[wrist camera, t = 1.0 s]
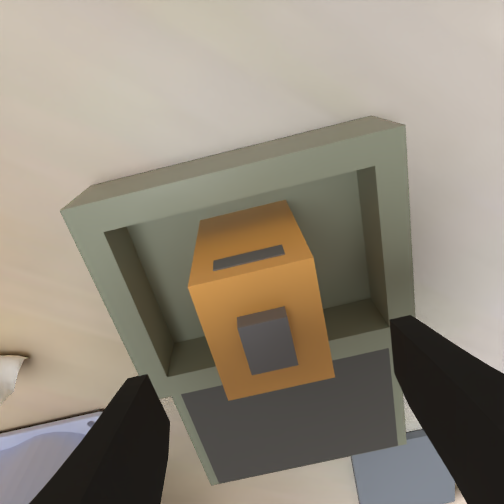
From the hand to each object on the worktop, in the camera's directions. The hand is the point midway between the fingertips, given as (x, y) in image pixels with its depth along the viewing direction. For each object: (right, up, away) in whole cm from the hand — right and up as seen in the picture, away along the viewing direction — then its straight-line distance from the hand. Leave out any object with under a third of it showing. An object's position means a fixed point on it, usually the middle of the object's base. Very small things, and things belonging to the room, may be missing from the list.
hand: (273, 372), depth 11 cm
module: (-1, +3, +7) cm, 8 cm away
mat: (+10, -12, +16) cm, 23 cm away
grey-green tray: (+1, -1, +10) cm, 10 cm away
